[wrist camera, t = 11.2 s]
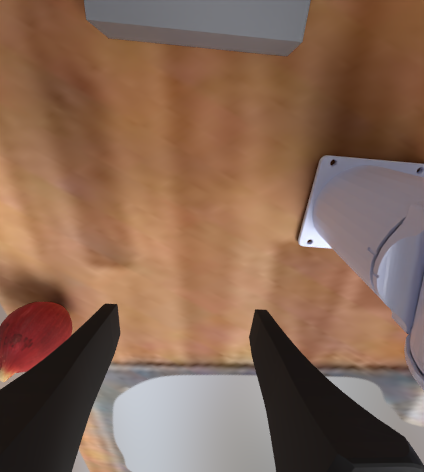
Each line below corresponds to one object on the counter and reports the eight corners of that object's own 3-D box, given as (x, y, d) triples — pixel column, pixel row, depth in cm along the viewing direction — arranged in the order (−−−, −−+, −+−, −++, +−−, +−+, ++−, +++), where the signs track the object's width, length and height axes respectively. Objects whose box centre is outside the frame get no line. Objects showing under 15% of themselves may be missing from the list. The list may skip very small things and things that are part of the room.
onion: (20, 297, 25) (-59, 367, 18) (60, 277, 24) (-6, 343, 17) (58, 332, 27) (2, 406, 20) (97, 315, 26) (52, 388, 19)
